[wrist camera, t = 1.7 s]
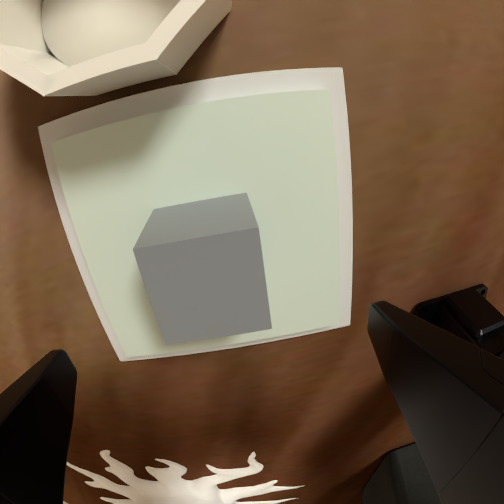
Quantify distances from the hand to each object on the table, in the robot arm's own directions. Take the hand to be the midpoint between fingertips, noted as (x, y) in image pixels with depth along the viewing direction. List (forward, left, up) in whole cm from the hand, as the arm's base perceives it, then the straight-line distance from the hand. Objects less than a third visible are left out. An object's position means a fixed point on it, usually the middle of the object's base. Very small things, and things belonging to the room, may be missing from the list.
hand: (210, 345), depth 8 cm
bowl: (+12, +2, -8) cm, 14 cm away
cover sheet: (0, 0, -7) cm, 7 cm away
